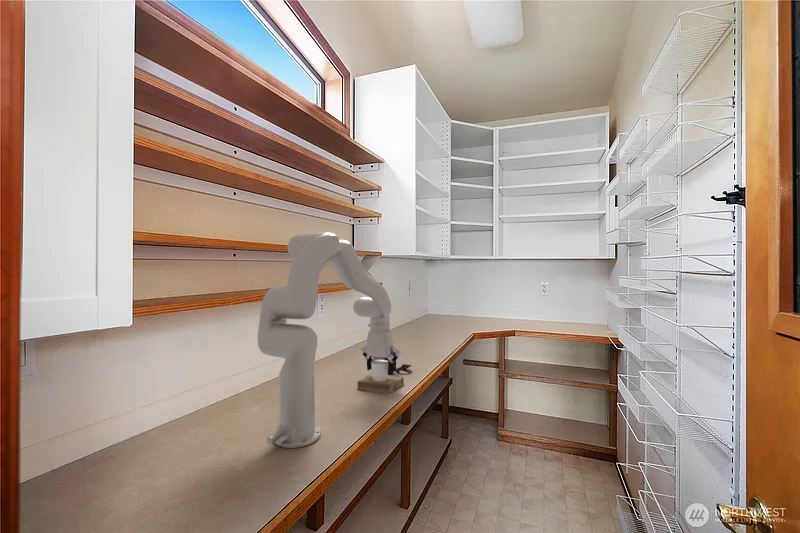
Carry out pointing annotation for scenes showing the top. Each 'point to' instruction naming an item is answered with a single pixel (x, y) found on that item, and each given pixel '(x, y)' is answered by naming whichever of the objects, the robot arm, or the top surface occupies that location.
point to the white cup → (379, 370)
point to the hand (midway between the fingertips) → (380, 370)
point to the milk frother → (395, 364)
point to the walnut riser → (381, 384)
